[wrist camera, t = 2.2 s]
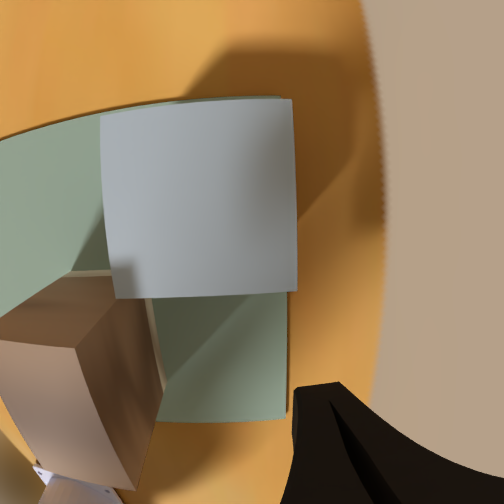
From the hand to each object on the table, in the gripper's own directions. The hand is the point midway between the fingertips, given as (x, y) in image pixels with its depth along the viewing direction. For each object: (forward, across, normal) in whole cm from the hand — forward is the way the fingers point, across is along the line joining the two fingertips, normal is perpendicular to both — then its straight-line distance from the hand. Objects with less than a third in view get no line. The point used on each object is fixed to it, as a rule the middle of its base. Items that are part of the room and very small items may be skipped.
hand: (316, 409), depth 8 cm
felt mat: (+6, +9, -2) cm, 11 cm away
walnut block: (+6, +8, 0) cm, 10 cm away
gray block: (+6, +3, -6) cm, 9 cm away
